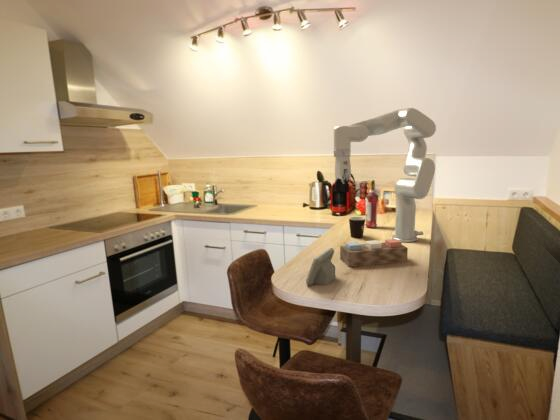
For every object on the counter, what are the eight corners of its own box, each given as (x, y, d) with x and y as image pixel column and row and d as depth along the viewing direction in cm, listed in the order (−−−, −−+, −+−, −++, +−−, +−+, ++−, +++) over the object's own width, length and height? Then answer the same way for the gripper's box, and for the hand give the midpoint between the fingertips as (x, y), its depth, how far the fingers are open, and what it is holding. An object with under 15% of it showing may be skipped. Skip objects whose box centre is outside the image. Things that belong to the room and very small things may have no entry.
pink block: (395, 247, 158) (395, 238, 157) (401, 250, 153) (401, 241, 153) (384, 248, 157) (385, 239, 157) (390, 251, 152) (390, 242, 152)
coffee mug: (355, 239, 189) (355, 220, 187) (345, 236, 196) (345, 218, 194) (372, 236, 194) (373, 218, 192) (362, 233, 201) (362, 215, 200)
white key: (376, 249, 157) (376, 240, 156) (381, 252, 152) (381, 243, 151) (365, 250, 156) (365, 241, 155) (370, 253, 151) (370, 244, 150)
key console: (395, 254, 161) (396, 241, 160) (407, 261, 152) (407, 247, 151) (340, 259, 157) (340, 245, 156) (348, 266, 147) (348, 252, 146)
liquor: (362, 226, 218) (363, 180, 213) (374, 225, 219) (375, 179, 214) (368, 229, 211) (368, 181, 206) (379, 228, 212) (380, 180, 207)
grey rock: (323, 271, 143) (323, 245, 141) (343, 276, 137) (343, 249, 135) (298, 283, 131) (298, 255, 129) (319, 289, 125) (319, 260, 123)
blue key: (356, 250, 155) (356, 241, 154) (361, 254, 150) (361, 244, 149) (345, 251, 154) (345, 242, 154) (349, 255, 149) (349, 245, 149)
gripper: (356, 153, 156) (356, 193, 159) (344, 153, 172) (344, 188, 176) (339, 154, 155) (339, 194, 158) (328, 153, 171) (329, 189, 175)
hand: (342, 191), depth 167 cm, fingers open, 9 cm apart
